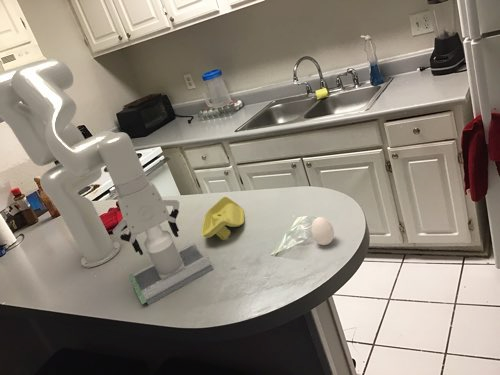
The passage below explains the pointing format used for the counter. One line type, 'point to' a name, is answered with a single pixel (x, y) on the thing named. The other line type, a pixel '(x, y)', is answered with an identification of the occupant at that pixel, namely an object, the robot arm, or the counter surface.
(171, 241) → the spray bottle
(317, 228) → the egg
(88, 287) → the counter surface
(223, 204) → the plastic component
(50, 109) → the robot arm
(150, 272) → the rail cradle
